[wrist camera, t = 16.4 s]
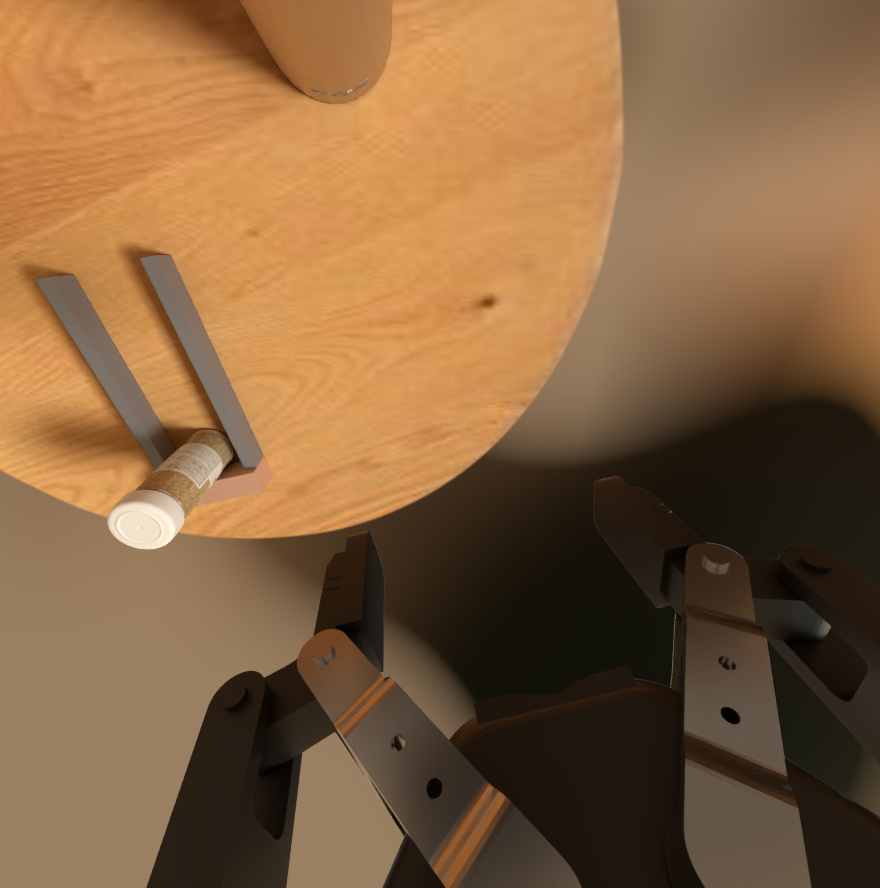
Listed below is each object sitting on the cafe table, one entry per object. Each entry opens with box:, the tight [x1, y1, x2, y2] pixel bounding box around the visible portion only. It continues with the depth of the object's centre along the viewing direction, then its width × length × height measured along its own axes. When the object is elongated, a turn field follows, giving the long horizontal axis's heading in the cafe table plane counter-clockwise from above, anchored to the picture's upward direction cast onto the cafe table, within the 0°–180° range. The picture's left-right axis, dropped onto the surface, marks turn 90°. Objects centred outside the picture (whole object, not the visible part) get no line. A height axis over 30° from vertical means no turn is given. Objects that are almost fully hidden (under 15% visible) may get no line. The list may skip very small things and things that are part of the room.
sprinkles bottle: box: [107, 429, 234, 549], centre depth 34 cm, size 5×5×13 cm
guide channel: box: [35, 255, 272, 507], centre depth 36 cm, size 22×9×4 cm, turn 10°
